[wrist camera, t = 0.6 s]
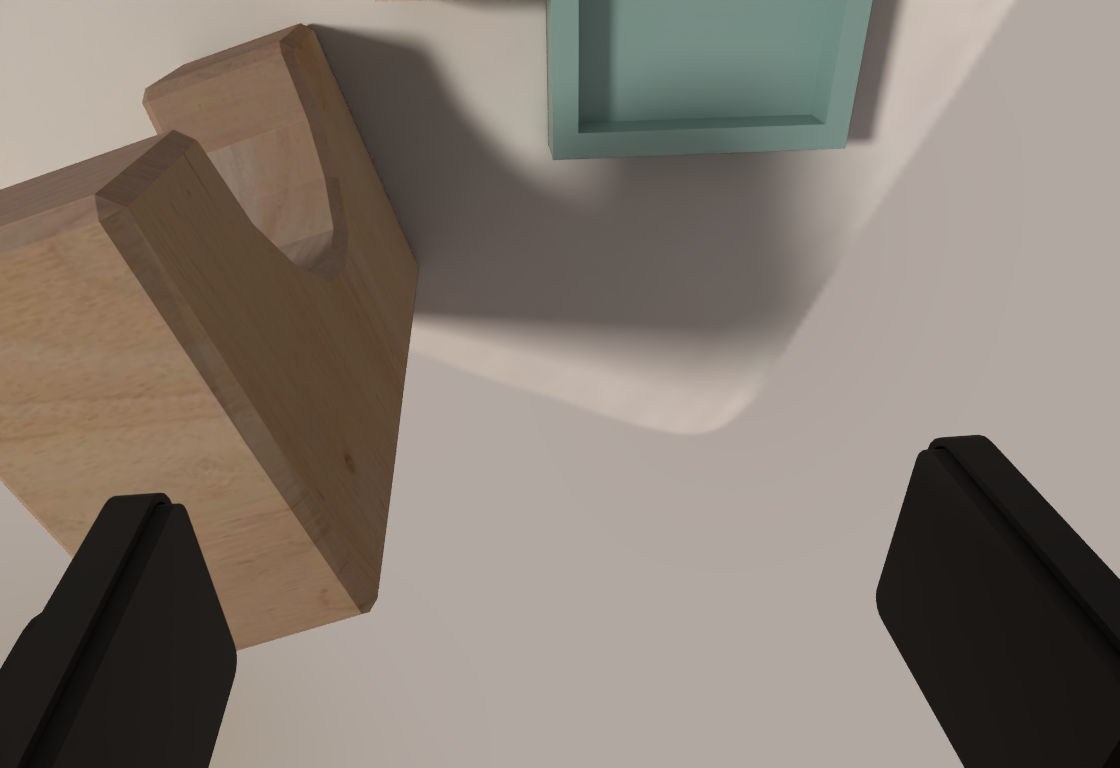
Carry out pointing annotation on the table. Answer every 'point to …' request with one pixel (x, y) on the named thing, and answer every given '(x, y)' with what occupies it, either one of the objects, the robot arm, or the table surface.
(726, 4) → the tray
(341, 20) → the table surface
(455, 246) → the table surface
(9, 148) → the table surface
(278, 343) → the decorative block
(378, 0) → the oak cube
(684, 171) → the table surface
